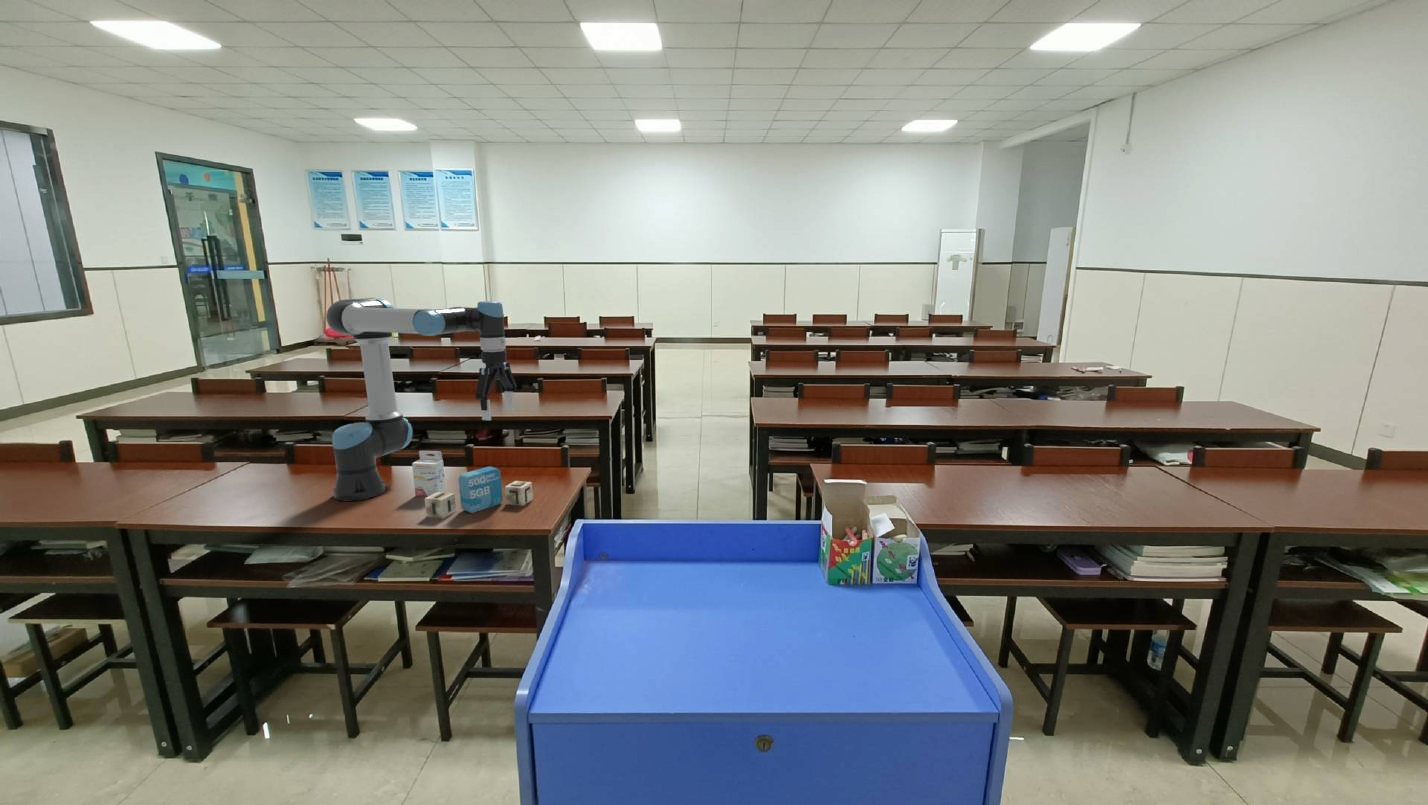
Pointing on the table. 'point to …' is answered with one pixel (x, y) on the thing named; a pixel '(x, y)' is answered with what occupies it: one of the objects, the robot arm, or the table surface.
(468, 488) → the data package
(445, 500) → the maple block one
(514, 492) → the maple block seven
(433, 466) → the ink cartridge box
